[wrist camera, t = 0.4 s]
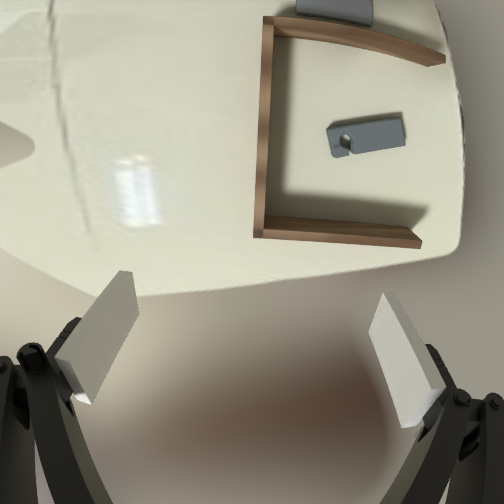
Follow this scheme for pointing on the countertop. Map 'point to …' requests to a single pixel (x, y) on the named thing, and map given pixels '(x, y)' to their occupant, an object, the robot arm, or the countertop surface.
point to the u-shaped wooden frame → (268, 224)
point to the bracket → (366, 136)
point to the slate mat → (338, 10)
